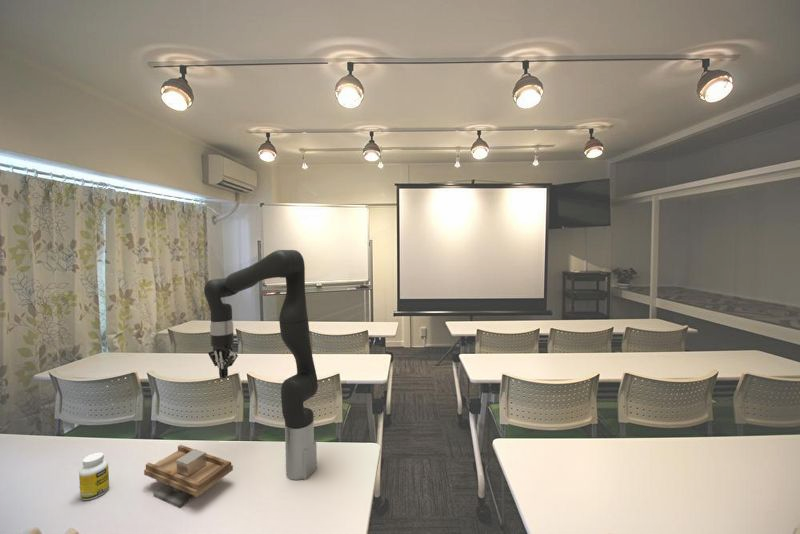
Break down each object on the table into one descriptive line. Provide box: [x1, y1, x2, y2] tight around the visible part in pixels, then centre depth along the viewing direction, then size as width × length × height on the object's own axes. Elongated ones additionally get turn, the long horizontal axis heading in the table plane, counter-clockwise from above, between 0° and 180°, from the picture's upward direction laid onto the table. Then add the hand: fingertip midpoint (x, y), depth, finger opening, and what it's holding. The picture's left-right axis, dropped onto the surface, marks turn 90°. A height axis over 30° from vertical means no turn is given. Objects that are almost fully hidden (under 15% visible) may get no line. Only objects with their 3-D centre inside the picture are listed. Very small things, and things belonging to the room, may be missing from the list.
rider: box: [176, 448, 207, 477], centre depth 102 cm, size 5×6×4 cm
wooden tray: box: [143, 444, 234, 509], centre depth 102 cm, size 24×14×8 cm, turn 68°
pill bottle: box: [78, 452, 110, 501], centre depth 99 cm, size 6×6×12 cm
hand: (223, 377), depth 121 cm, fingers closed
